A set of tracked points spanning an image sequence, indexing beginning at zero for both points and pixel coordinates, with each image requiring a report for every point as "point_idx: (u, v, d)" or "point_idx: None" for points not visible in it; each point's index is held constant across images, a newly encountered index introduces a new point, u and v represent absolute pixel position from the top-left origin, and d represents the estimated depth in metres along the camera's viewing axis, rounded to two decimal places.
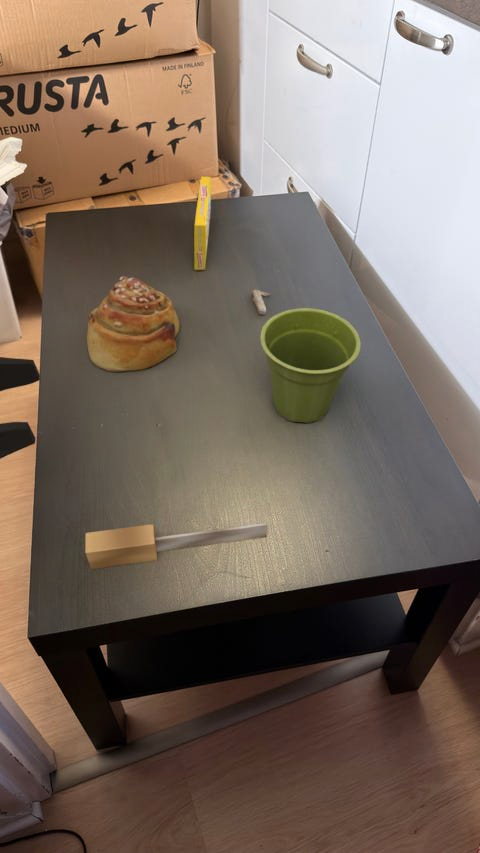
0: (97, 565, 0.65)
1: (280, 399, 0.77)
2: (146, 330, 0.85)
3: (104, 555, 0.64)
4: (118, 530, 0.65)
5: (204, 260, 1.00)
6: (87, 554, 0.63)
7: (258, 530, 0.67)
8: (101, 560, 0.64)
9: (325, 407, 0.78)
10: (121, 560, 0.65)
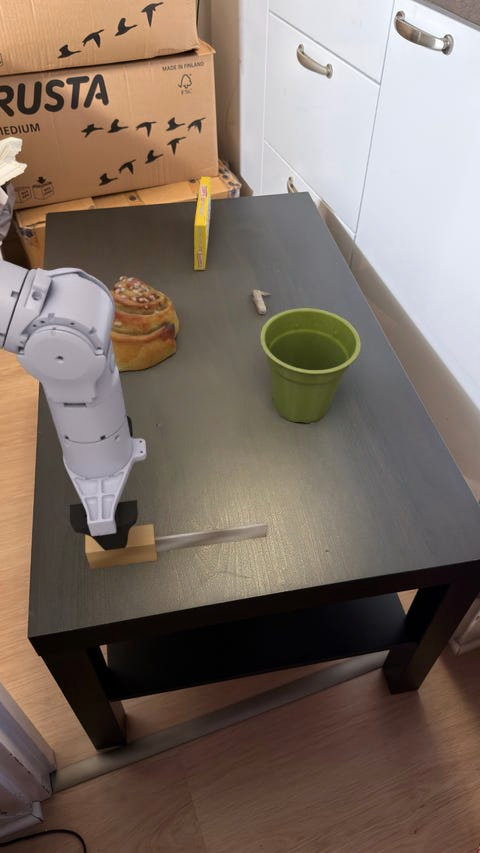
0: (97, 565, 0.65)
1: (280, 399, 0.77)
2: (146, 330, 0.85)
3: (104, 555, 0.64)
4: None
5: (204, 260, 1.00)
6: (87, 554, 0.63)
7: (258, 530, 0.67)
8: (101, 560, 0.64)
9: (325, 407, 0.78)
10: (121, 560, 0.65)
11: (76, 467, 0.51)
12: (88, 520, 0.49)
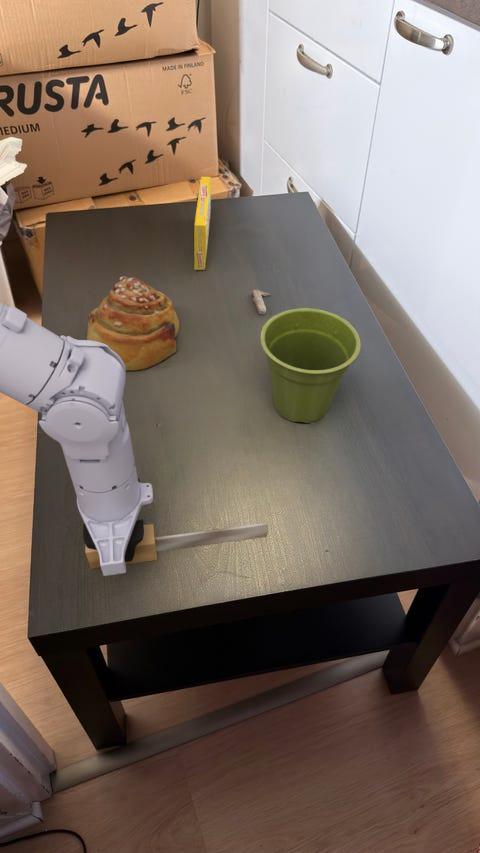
0: (97, 565, 0.65)
1: (280, 399, 0.77)
2: (146, 330, 0.85)
3: None
4: None
5: (204, 260, 1.00)
6: (87, 554, 0.63)
7: (258, 529, 0.67)
8: None
9: (325, 407, 0.78)
10: None
11: (89, 512, 0.56)
12: (101, 562, 0.54)
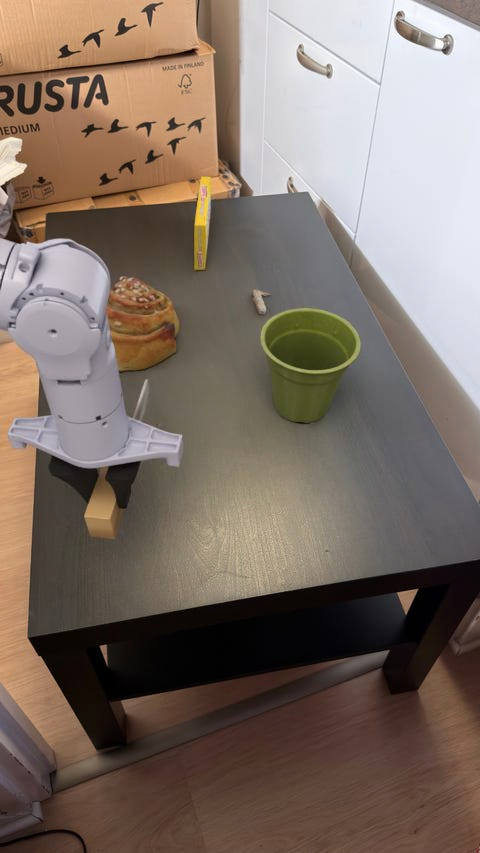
0: (116, 528, 0.58)
1: (280, 399, 0.77)
2: (146, 330, 0.85)
3: (116, 508, 0.57)
4: (97, 485, 0.58)
5: (204, 260, 1.00)
6: (111, 520, 0.56)
7: (146, 390, 0.69)
8: (116, 519, 0.57)
9: (325, 407, 0.78)
10: None
11: (114, 445, 0.50)
12: (174, 451, 0.51)
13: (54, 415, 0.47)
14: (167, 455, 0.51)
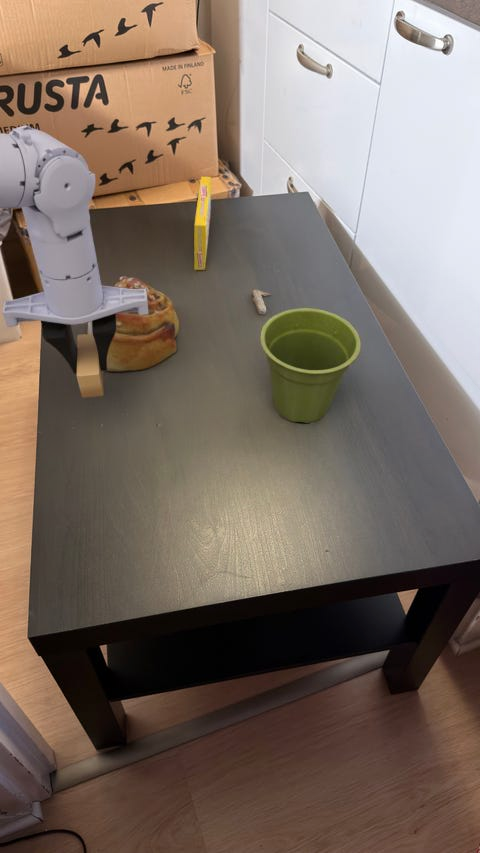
0: (102, 386, 0.70)
1: (280, 399, 0.77)
2: (146, 330, 0.85)
3: (100, 369, 0.69)
4: (79, 355, 0.69)
5: (204, 260, 1.00)
6: (99, 375, 0.68)
7: None
8: (101, 378, 0.70)
9: (325, 407, 0.78)
10: None
11: (96, 300, 0.63)
12: (144, 299, 0.64)
13: (47, 278, 0.59)
14: (138, 304, 0.65)
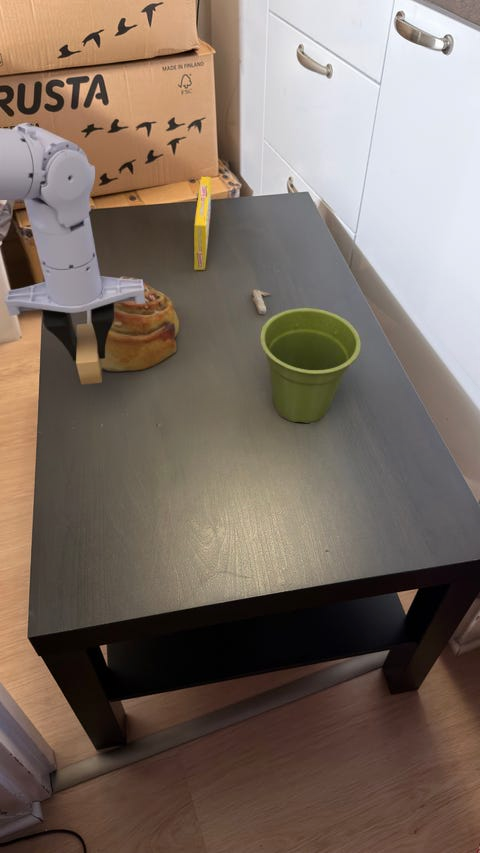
0: (101, 373, 0.73)
1: (280, 399, 0.77)
2: (146, 330, 0.85)
3: (98, 357, 0.72)
4: (78, 343, 0.72)
5: (204, 260, 1.00)
6: (98, 362, 0.71)
7: None
8: (100, 365, 0.73)
9: (325, 407, 0.78)
10: None
11: (95, 290, 0.65)
12: (140, 289, 0.67)
13: (48, 267, 0.62)
14: (135, 294, 0.67)
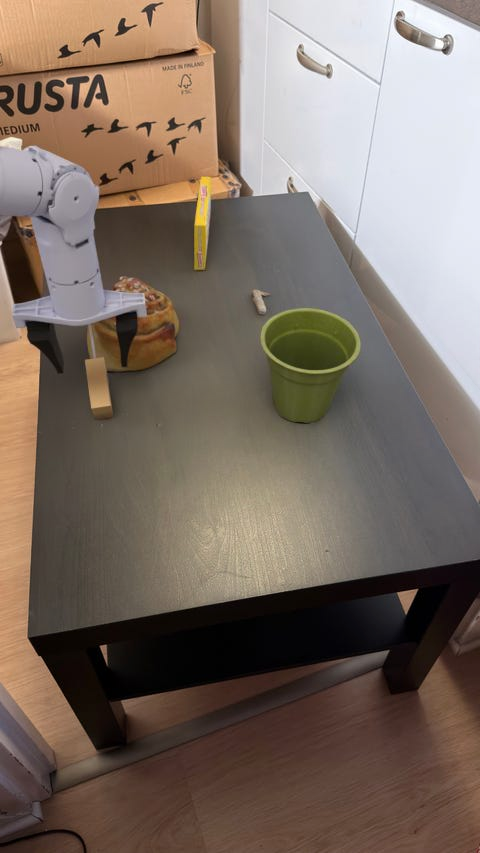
0: (112, 409, 0.80)
1: (280, 399, 0.77)
2: (146, 330, 0.85)
3: None
4: (90, 383, 0.78)
5: (204, 260, 1.00)
6: (110, 405, 0.77)
7: None
8: (111, 403, 0.79)
9: (325, 407, 0.78)
10: (109, 390, 0.80)
11: (98, 304, 0.68)
12: (142, 303, 0.70)
13: (54, 283, 0.65)
14: (137, 307, 0.70)
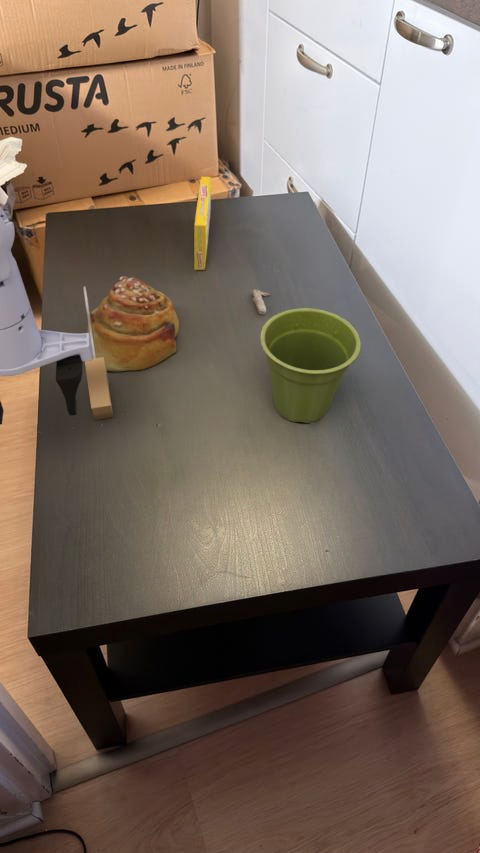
0: (112, 409, 0.80)
1: (280, 399, 0.77)
2: (146, 330, 0.85)
3: None
4: (90, 383, 0.78)
5: (204, 260, 1.00)
6: (110, 405, 0.77)
7: None
8: (111, 403, 0.79)
9: (325, 407, 0.78)
10: (109, 390, 0.80)
11: (32, 349, 0.57)
12: (85, 346, 0.59)
13: None
14: (80, 351, 0.59)
